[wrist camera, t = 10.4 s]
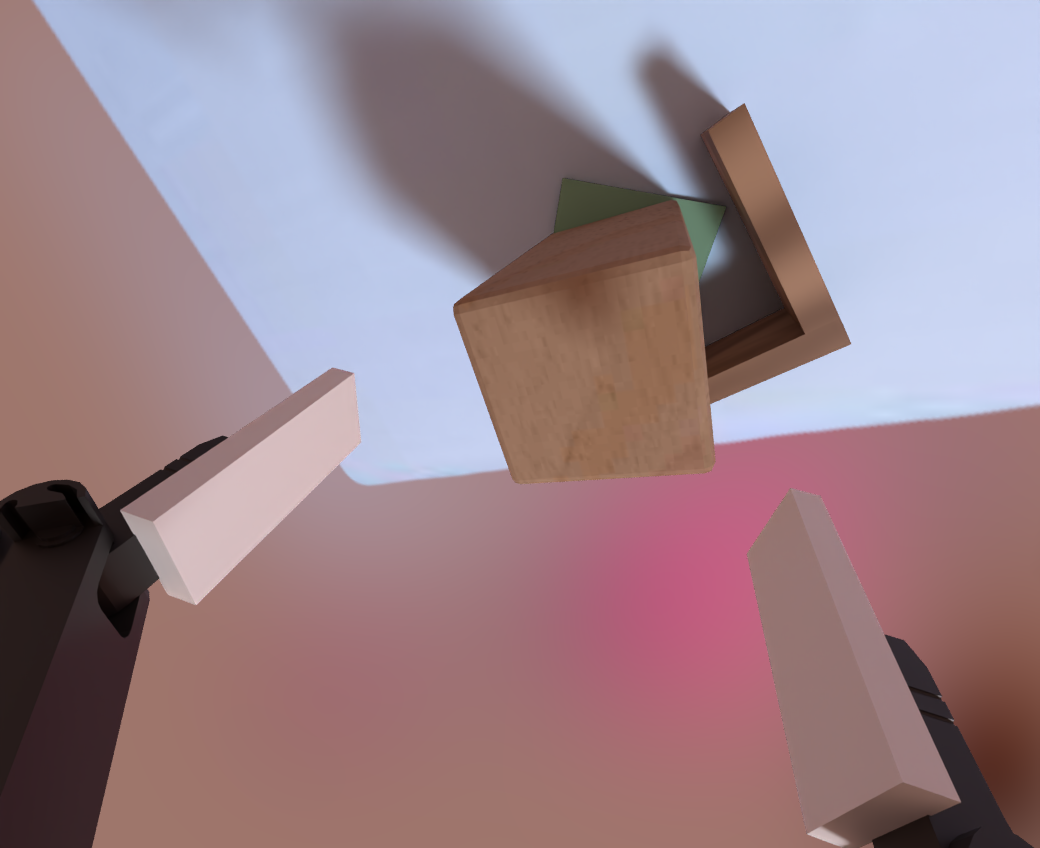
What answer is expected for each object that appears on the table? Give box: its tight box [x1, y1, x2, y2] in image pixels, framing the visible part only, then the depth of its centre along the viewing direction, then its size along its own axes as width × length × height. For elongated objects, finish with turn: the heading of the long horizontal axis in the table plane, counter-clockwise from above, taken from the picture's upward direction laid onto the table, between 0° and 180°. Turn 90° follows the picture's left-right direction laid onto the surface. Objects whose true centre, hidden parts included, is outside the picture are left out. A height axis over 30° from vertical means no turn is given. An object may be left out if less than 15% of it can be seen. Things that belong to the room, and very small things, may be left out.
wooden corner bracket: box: [701, 103, 851, 404], centre depth 33 cm, size 16×20×6 cm
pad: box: [554, 178, 726, 281], centre depth 35 cm, size 12×12×1 cm
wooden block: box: [453, 200, 715, 484], centre depth 27 cm, size 10×10×20 cm
